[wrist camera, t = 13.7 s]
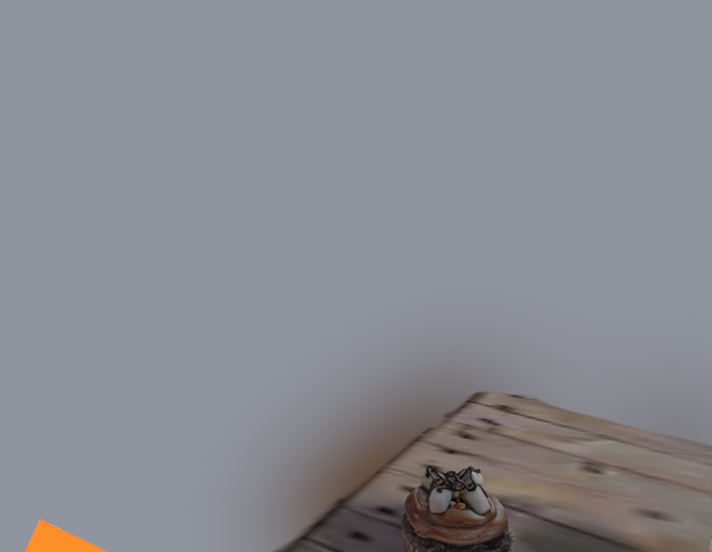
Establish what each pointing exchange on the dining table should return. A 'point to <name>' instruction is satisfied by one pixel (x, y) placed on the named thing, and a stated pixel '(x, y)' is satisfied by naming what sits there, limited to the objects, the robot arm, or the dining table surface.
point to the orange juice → (58, 541)
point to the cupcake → (454, 515)
